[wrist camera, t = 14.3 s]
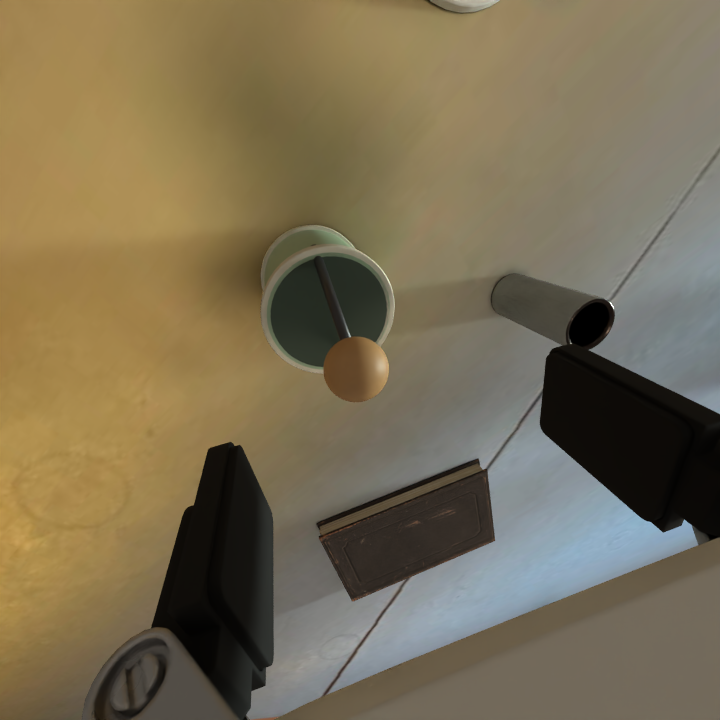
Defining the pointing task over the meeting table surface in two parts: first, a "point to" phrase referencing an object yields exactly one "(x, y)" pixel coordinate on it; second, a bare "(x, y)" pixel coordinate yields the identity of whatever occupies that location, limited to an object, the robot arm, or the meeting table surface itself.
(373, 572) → the hardcover book
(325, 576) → the meeting table surface
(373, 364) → the green hollow rimmed cylinder
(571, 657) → the robot arm
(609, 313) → the grey hollow tube
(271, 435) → the meeting table surface
